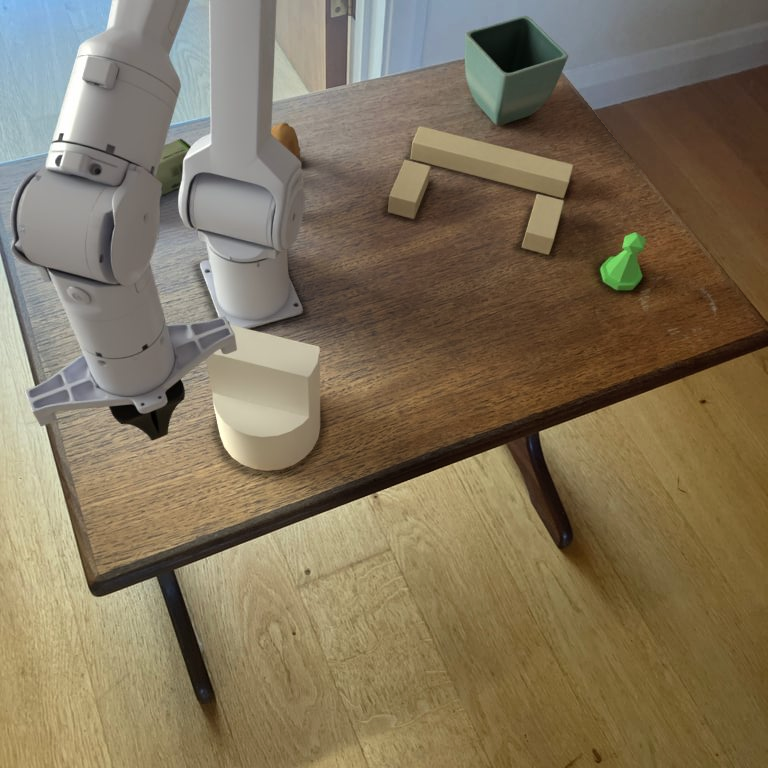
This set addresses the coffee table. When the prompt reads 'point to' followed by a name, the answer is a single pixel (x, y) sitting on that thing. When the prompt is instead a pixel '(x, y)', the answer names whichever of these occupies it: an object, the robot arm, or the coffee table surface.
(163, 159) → the medication box
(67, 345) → the coffee table surface
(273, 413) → the base with upright slab
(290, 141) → the lion figurine
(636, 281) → the game piece
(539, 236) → the bay
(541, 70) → the flower pot
